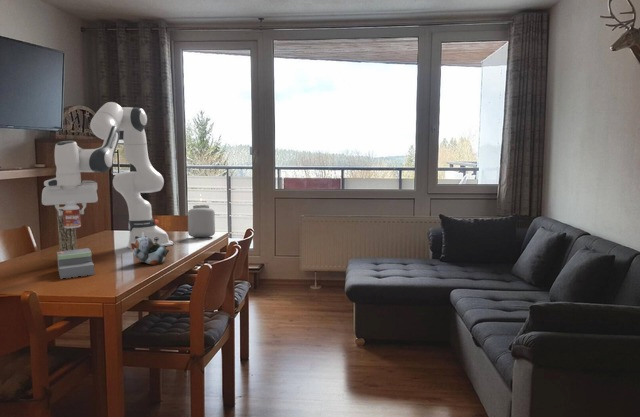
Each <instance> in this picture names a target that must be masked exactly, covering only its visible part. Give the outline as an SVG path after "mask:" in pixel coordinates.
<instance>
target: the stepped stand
mask: <svg viewBox="0 0 640 417" xmlns="http://www.w3.org/2000/svg"><path fill="white" fill-rule="evenodd" d="M56 255H57V256H56V258H57V259H56V260H57V269H58V270H57V271H58V275H59V278H60V280H64V279H63V278H66V279H71V277H73V278H79V277H78V276H81V277H86V276H87V275H88V276H93V275H95V274H96V273H95V264H94V262H93V258H92V255H93V254H92V251H91V249H90V248H89V247H86V248H77V249H76V250H67V251H60V250H59V251H56ZM88 276H87V277H88Z"/></svg>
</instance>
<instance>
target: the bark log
mask: <svg viewBox="0 0 640 417" xmlns="http://www.w3.org/2000/svg"><path fill="white" fill-rule="evenodd" d="M63 207H64V206H59V207H58V209H59V210H60V211H63ZM56 218H57V229H58V230H57V232H58V244H59V251H67V250H76V249H78V243H77V242H78V241H77V232H76V230H77V228H64V222H63V216H59V212H58V210H57V209H56Z"/></svg>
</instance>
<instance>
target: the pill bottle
mask: <svg viewBox="0 0 640 417" xmlns="http://www.w3.org/2000/svg"><path fill="white" fill-rule="evenodd" d="M62 207H63V222H64V228H76V229H77V228H80V227H81V226H82V222H81V214H80V210H81V209H80V206H79V205H78V203H77V204H76V203H75V201H67V204H64V206H62Z"/></svg>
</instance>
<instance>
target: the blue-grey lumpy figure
mask: <svg viewBox="0 0 640 417" xmlns="http://www.w3.org/2000/svg"><path fill="white" fill-rule="evenodd" d="M130 250H131V251H132V254H133V256H134V257H135V258H136V259H138V260H139V263H146V264H149V265H150V266H151V265H152V266H155V265H156V266H157V265H161V264H162V263H163V262H164V261H165V260H166V259H167V258H166V257H167V255H168V254H169V251H170V250H169V248H166V246H163V245H162V244H158V243H157V242H155V243H154V244H153V242H152V240H151V239H150V238H147V237H146V236H143V237H142V238H140V237H138V236H135V241H134V243H131V248H130Z"/></svg>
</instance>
